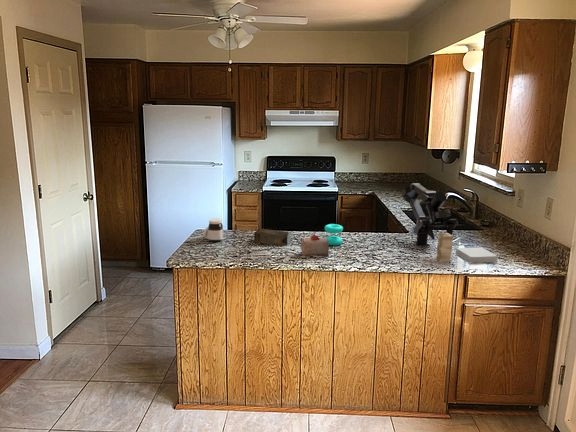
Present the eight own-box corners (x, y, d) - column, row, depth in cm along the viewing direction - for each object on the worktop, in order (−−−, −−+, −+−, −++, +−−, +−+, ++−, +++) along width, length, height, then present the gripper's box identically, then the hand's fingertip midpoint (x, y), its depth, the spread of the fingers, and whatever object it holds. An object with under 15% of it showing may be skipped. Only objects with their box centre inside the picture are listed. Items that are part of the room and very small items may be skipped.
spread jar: (221, 243, 248) (220, 222, 245) (200, 242, 248) (199, 222, 245) (224, 237, 259) (224, 217, 256) (204, 236, 259) (204, 216, 257)
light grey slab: (455, 253, 237) (456, 248, 236) (480, 252, 239) (481, 247, 238) (470, 263, 223) (470, 257, 222) (496, 261, 225) (497, 256, 225)
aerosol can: (421, 231, 277) (424, 198, 272) (414, 227, 285) (416, 196, 280) (433, 230, 280) (436, 198, 275) (425, 226, 287) (428, 195, 282)
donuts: (330, 222, 255) (346, 225, 249) (330, 239, 258) (345, 243, 252) (321, 226, 247) (337, 229, 242) (320, 243, 250) (336, 247, 244)
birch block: (436, 258, 229) (438, 233, 226) (445, 257, 230) (448, 233, 227) (440, 261, 225) (443, 236, 221) (450, 261, 225) (453, 235, 222)
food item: (302, 257, 228) (303, 238, 225) (300, 252, 235) (300, 233, 233) (329, 256, 229) (330, 237, 227) (326, 251, 237) (326, 233, 235)
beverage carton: (287, 246, 245) (287, 234, 244) (253, 243, 250) (253, 231, 248) (291, 242, 253) (291, 230, 251) (258, 239, 257) (258, 227, 256)
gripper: (423, 204, 227) (431, 231, 219) (458, 203, 230) (467, 230, 222) (415, 215, 237) (422, 242, 229) (449, 215, 239) (457, 241, 231)
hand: (442, 239), depth 227 cm, fingers open, 9 cm apart
